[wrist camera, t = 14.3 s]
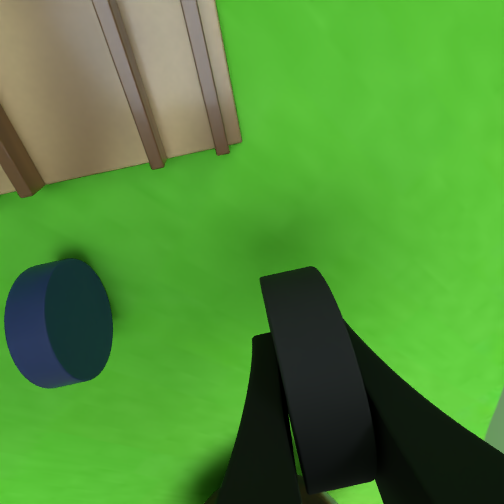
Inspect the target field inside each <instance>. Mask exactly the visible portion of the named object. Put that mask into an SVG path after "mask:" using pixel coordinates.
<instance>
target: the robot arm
mask: <svg viewBox="0 0 504 504" xmlns="http://www.w3.org/2000/svg"><path fill="white" fill-rule="evenodd" d="M343 320H344V319H343ZM344 323H345V325H346V328H347V331H348V334H349V337H350V340H351V343H352V346H353V349H354V352H355V355H356V358H357V362H358V365H359V368H360V372H361V375H362V379H363V383H364V387H365V391H366V395H367V399H368V403H369V408H370V412H371V417H372V422H373V428H374V434H375V441H376V450H377V474H376V477H375V481H376V484H377V486H378V489H379V492H380V495H381V498H382V500H383V503H384V504H504V454H503V453H502V452H500V451H499V450H497V449H496V448H494V447H493V446H491V445H489V444H488V443H487V442H485V441H484V440H482V439H481V438H479V437H478V436H476V435H475V434H473V433H472V432H470V431H469V430H467V429H466V428H464V427H463V426H461V425H460V424H459V423H457V422H456V421H455V420H453V419H452V418H451V417H449V416H448V415H446V414H445V413H444V412H442V411H441V410H440V409H439V408H437V407H436V406H435V405H433V404H432V403H431V402H429V401H428V400H427V399H426V398H424V397H423V396H422V395H421V394H420V393H418V392H417V391H416V390H415V389H414V388H412V387H411V386H410V385H409V384H408V383H407V382H405V381H404V380H403V379H402V378H401V377H400V376H399V375H397V374H396V373H395V372H394V371H393V370H392V369H391V368H390V367H389V366H388V365H387V364H386V363H385V362H384V361H382V360H381V359H380V358H379V357H378V356H377V355H376V354H375V353H374V352H373V351H372V350H371V349H370V348H369V347H368V346H367V345H366V344H365V343H364V342H363V340H362V339H361V338H360V337H359V336H358V335H357V334H356V333H355V332H354V331H353V330H352V328H351V327H350V326H349V325H348V324H347V323H346V321H345V320H344ZM214 504H303V503H302V498H301V494H300V489H299V484H298V478H297V473H296V466H295V459H294V452H293V444H292V437H291V430H290V422H289V415H288V408H287V403H286V398H285V393H284V389H283V384H282V379H281V374H280V369H279V365H278V360H277V355H276V351H275V347H274V342H273V338H272V334H271V332H269V333H265V334H260V335H256V336H254V337H253V338H252V362H251V371H250V378H249V384H248V390H247V395H246V400H245V405H244V409H243V414H242V418H241V422H240V426H239V430H238V434H237V437H236V441H235V444H234V448H233V451H232V454H231V458H230V461H229V464H228V467H227V470H226V473H225V476H224V479H223V482H222V484H221V487H220V490H219V493H218V495H217V498H216V501H215V503H214Z"/></svg>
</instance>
